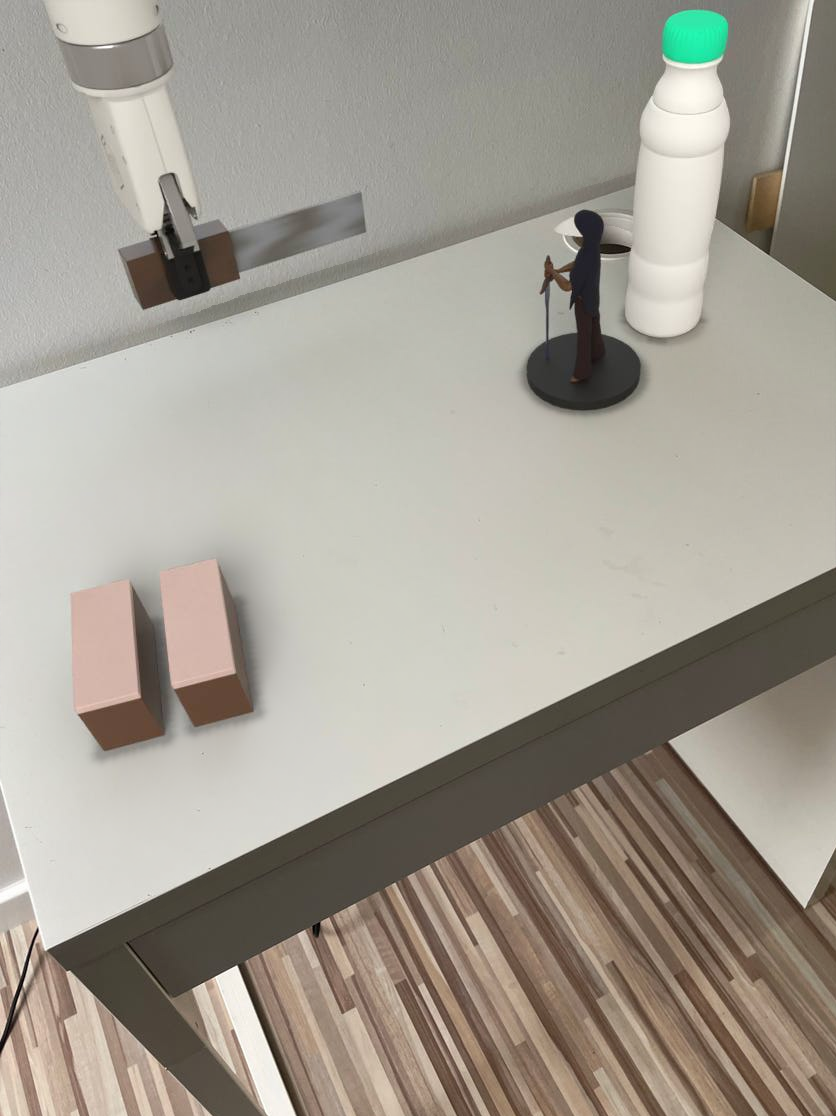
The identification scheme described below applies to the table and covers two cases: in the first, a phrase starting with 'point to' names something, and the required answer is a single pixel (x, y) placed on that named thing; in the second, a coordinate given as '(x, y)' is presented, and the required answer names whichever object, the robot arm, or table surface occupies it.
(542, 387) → the figurine
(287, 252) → the knife
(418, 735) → the table surface
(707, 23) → the water bottle
